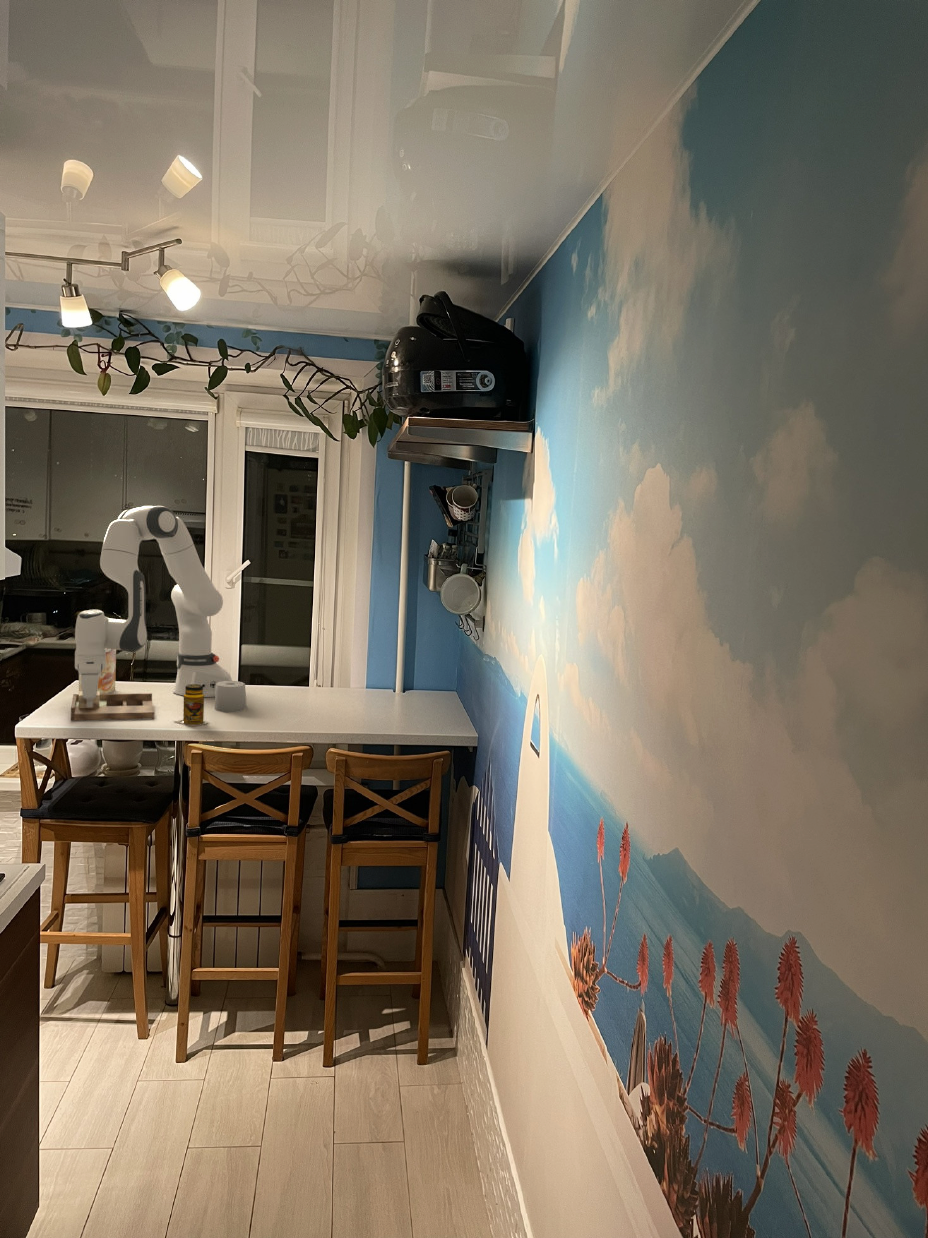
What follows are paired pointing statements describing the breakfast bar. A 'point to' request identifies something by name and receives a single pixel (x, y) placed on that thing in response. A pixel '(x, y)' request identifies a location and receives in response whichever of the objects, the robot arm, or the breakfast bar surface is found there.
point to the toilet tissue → (230, 696)
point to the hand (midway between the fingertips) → (89, 706)
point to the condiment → (193, 706)
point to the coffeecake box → (106, 674)
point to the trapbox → (115, 707)
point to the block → (84, 702)
